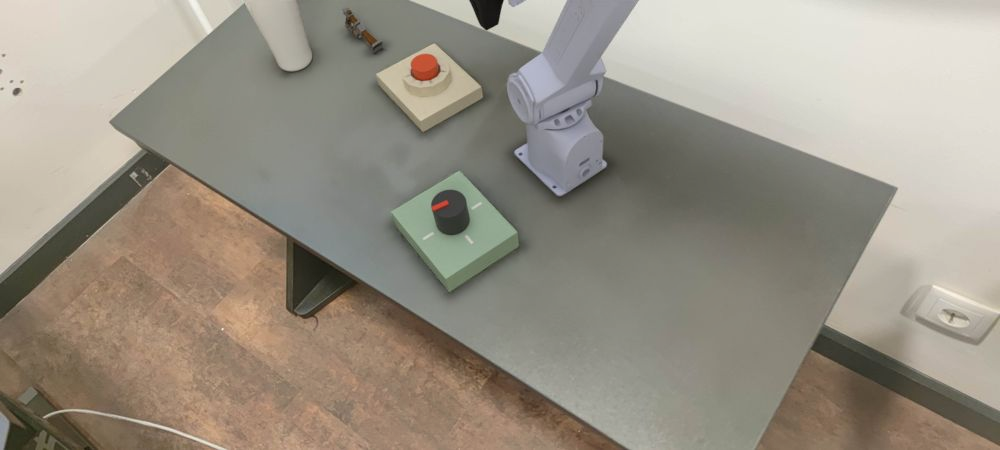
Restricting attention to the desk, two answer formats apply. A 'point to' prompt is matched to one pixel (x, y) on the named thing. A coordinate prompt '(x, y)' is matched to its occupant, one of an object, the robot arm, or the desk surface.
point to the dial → (450, 212)
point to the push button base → (430, 89)
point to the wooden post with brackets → (360, 30)
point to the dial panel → (463, 251)
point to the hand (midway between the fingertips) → (489, 24)
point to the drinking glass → (282, 31)
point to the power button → (424, 67)
